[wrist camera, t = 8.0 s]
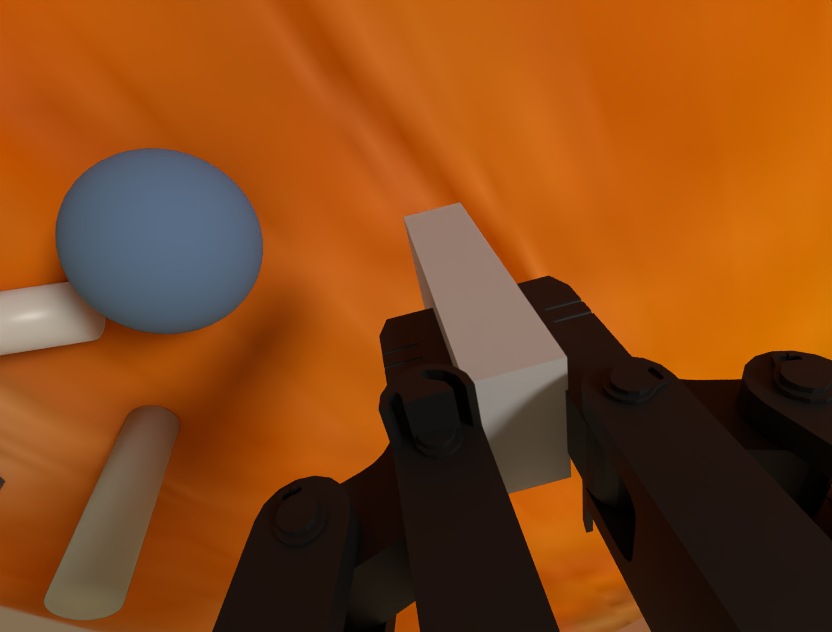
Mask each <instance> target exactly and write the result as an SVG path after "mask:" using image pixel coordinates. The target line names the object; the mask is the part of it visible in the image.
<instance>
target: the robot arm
mask: <svg viewBox="0 0 832 632" xmlns="http://www.w3.org/2000/svg"><path fill="white" fill-rule="evenodd" d="M404 221H405V226H406V230H407V234H408V239H409V243H410V247H411V251H412V256H413V260H414V264H415V269H416V273H417V277H418V282H419V286H420V290H421V294H422V299H423V303H424V306H425V310H421V311H418V312H414V313H410V314H406V315H402V316H398V317H395V318H391V319H387V320H386V322H385V325H384V327H383V329H382V331H381V334H380V336H379V337H380V343H381V349H382V354H383V362H384V367H385V375H386V381H387V386H386V388H385V389H384V391H383V392H382V394H381V395H380V402H379V412H380V415H381V418H382V421H383V423H384V426H385V429H386V432H387V435H388V438H389V441H390V443H389V445H388V446H387V448H386V450H385V451H384V453H383V454H382V455H381V456H380V457H379V458H378V459H377V460H376V461H375V462H374V463H373V464H372V465H370V466H369V467H368V468H366V469H365V470H363V471H362V472H360V473H358V474H357V475H355V476H353V477H351V478H350V479H348V480H346V481H345V482H343V483H341V484H339V483H338V482H336V481H335V480H333V479H331V478H329V477H321V476H311V477H306V478H302V479H298V480H295V481H293V482H292V483H290V484H288V485H286V486H284V487H283V488H281V489H279V490H278V491H277V492H276V493H275V494H274V495H273V496H272V497H271V498H270V499H269V500H268V501H267V502H266V503H265V504H264V505H263V507H262V509H261V511H260V512H259V514H258V516H257V518H256V519H255V521H254V524H253V526H252V529H251V532H250V534H249V537H248V539H247V542H246V545H245V547H244V550H243V553H242V555H241V558H240V560H239V563H238V566H237V568H236V571H235V573H234V576H233V579H232V581H231V584H230V587H229V589H228V592H227V594H226V597H225V600H224V602H223V605H222V608H221V610H220V613H219V615H218V618H217V621H216V623H215V626H214V629H213V631H212V632H394V630H395V621H396V614H397V613H399V612H400V611H402V610H403V609H404V608H406V607H407V606H409V605H410V604H412V603H413V602H414V601H416V607H417V614H418V620H419V627H420V632H560V631H559V628H558V626H557V623H556V620H555V618H554V615H553V612H552V610H551V607H550V604H549V602H548V599H547V596H546V594H545V591H544V588H543V586H542V583H541V580H540V578H539V575H538V572H537V570H536V567H535V565H534V562H533V559H532V557H531V554H530V551H529V549H528V546H527V543H526V541H525V538H524V535H523V533H522V530H521V527H520V525H519V522H518V519H517V517H516V514H515V511H514V509H513V506H512V503H511V501H510V498H509V495H508V494H509V493H513V492H517V491H520V490H524V489H528V488H532V487H535V486H539V485H543V484H547V483H550V482H554V481H558V480H561V479H565V478H569V477H571V462H570V457H571V459H572V461H573V463H574V465H575V467H576V468H577V470H578V472H579V474H580V476H581V478H582V483H583V522H584V526H585V529H586V533H587V532H590V531H593V520H594V522H595V524H596V526H597V528H598V530H599V532H600V534H601V536H602V537H603V539H604V541H605V543H606V545H607V547H608V549H609V551H610V553H611V555H612V557H613V559H614V561H615V563H616V564H617V566H618V568H619V570H620V572H621V574H622V576H623V578H624V580H625V582H626V584H627V586H628V588H629V590H630V591H631V593H632V595H633V597H634V599H635V601H636V603H637V605H638V607H639V609H640V611H641V613H642V615H643V617H644V618H645V620H646V622H647V624H648V626H649V628H650V630H651V632H832V487H831V485H832V360H829V359H826V358H824V357H821V356H818V355H815V354H809V353H803V352H798V351H771V352H768V353H765V354H761V355H758V356H755V357H754V358H753V359H752V360H750V361H749V362H748V363H747V364H746V365H745V367H744V371H743V376H742V379H736V380H685V379H678V378H677V377H676V376H675V375H674V374H673V373H672V372H670V371H669V370H668V369H666V368H665V367H663V366H662V365H661V364H658V363H655V362H653V361H650V360H647V359H644V358H638V357H632V356H631V355H630V354H629V353H628V352H627V351H626V349H625V348H624V347H623V346H622V345H621V344H620V343H619V342H618V340H617V339H616V338H615V337H614V336H613V335H612V334H611V332H610V331H609V330H608V329H607V328H606V327H605V326H604V324H603V323H602V322H601V321H600V320H599V319H598V318H597V317H596V315H595V314H594V313H591V310H590V309H589V307H588V306H587V305H586V304H585V303H584V302H582V301H581V298H580V297H579V296H578V295H577V294H576V293H575V292H574V290H573V289H572V288H571V287H570V286H569V285H568V284H566V283H563V282H561V281H559V280H557V279H555V278H553V277H551V276H545V277H542V278H538V279H534V280H530V281H526V282H522V283H519V284H516V283H515V281H514V280H513V278H512V277H511V275H510V274H509V273H508V271H507V270H506V268H505V267H504V265H503V264H502V262H501V261H500V260H499V258H498V257H497V255H496V254H495V252H494V251H493V249H492V248H491V247H490V245H489V244H488V242H487V241H486V239H485V238H484V236H483V235H482V233H481V232H480V231H479V229H478V228H477V226H476V225H475V223H474V222H473V220H472V219H471V218H470V216H469V215H468V213H467V212H466V210H465V209H464V207H463V206H462V205H461V203H456V204H452V205H448V206H444V207H440V208H436V209H432V210H429V211H425V212H421V213H417V214H413V215H409V216H405V217H404Z"/></svg>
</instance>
